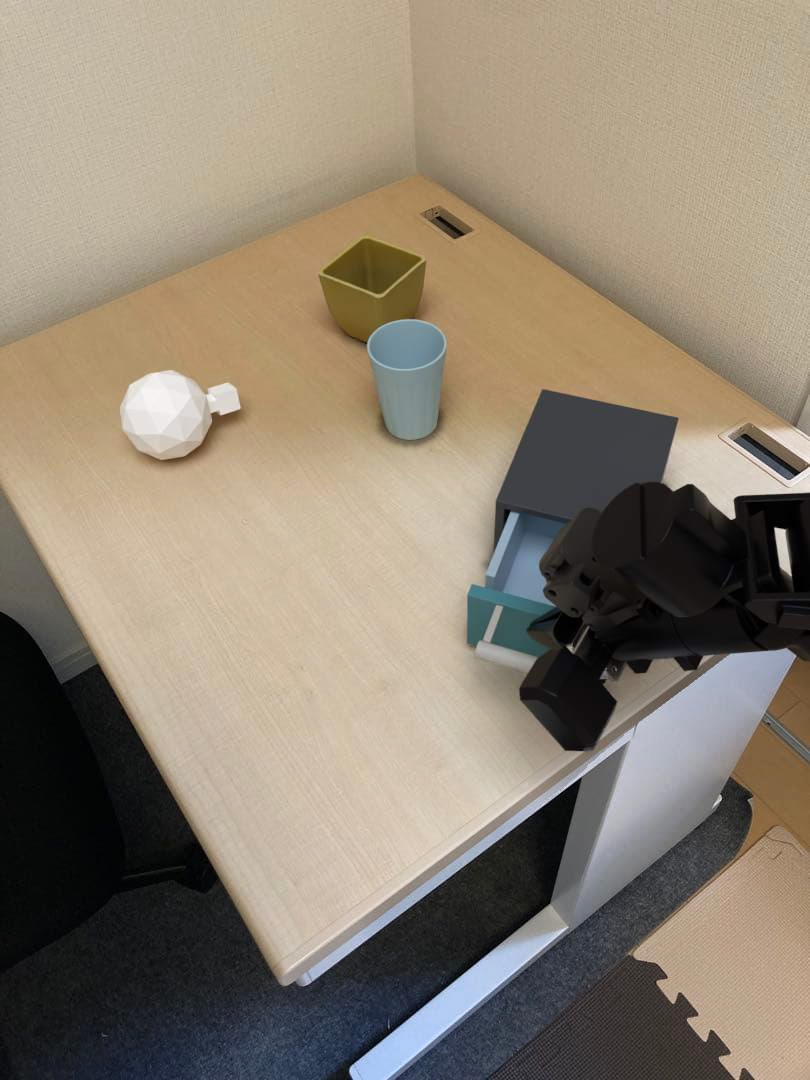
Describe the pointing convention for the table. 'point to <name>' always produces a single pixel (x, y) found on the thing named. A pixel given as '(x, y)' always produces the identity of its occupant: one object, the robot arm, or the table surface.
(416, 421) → the cup
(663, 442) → the drawer cabinet
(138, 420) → the perfume bottle
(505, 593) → the teal drawer
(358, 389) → the table surface
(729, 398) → the table surface
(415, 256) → the flower pot
